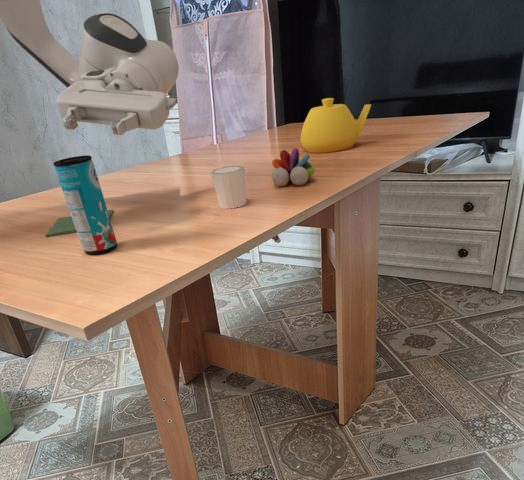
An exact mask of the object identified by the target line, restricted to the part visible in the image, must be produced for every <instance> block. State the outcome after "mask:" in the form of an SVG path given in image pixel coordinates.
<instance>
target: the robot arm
mask: <svg viewBox="0 0 524 480" xmlns="http://www.w3.org/2000/svg"><path fill="white" fill-rule="evenodd" d="M0 21H1V22H2V24H3V25H4V26H5V28H6V30H7V32H8V33H9V35H10V36H11V38H12V39H13V40H14V41H15V42H16V43H17V44H18V45H19V46H20V47H21V48H22V49H23V50H24V51H26V53H28V54H29V55H30V56H31V57H32V58H33V59H34V60H35V61H37V62H38V63H39V64H40V65H41V66H43V68H44V69H46V71H48V72H49V73H50V74H51V75H52V76H54V77H55V78H56V79H57V80H58V81H59V82H61V83H62V85H64V87H66V88H65V89H64V90H63V91H62V92H60V93H59V94H58V95H57V97H56V100H55V103H56V106H57V109H58V112H59V114H60V116H61V118H62V123H63V126H64V129H66V130H76V129H77V128H78V127H79V123H80V122H81V123H89V124H96V125H97V124H98V125H108V126H110V127H111V130H112V134H113V135H117V136H123V135H124V134H125V133H126V132H129V131H132V130H135V129H144V130H152V131H153V130H157V129H160V128H162V127H163V126H164V124H166V121H167V120H168V118H169V116H170V110H172V109H173V108H174V107H175V106H176V105H177V100H176V98H175V97H173V96H172V95H170V94H168V93H169V92H170V90H171V89H172V88H173V87H174V85H175V84H176V82H177V79H178V76H179V62H178V58H177V55H176V53H175V52H174V50H173V49H172V47H171V46H170V45H169V44H167V43H165V42H164V41H162V40H156V39H155V40H154V39H149V38H148V39H147V38H146V37H143V35H142V34H141V33H140V32H139V31H138V29H137V28H136V27H135V26H134V25H132V24H131V23H130V22H129V21H128V20H126V19H125V18H123V17H121V16H119V15H117V14H115V13H108V12H105V13H98V14H97V13H96V14H94V15H91V16H89V17H87V19H85V20H84V22H83V29H82V34H81V40H80V41H81V42H80V53H79V60H78V59H77V57H76V56H74V55H73V54H72V53H71V52H70V51H69V50H68V49H66V48H65V47H64V46H63V45H62V44H61V43H60V42H59V41H58V40H57V39H56V38H55V37H54V35H53V34H52V31H50V29H49V27H48V24H47V22H46V18H45V15H44V13H43V8H42V4H41V1H40V0H0ZM78 122H79V123H78Z"/></svg>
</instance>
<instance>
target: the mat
mask: <svg viewBox="0 0 524 480" xmlns="http://www.w3.org/2000/svg"><path fill="white" fill-rule="evenodd" d="M107 210H108V214H109V217H110V219H112V215H113V214H114V209H113V208H112V209H111V208H110V209H107ZM73 233H77V231H76V228H75V225H74V222H73V219H72V216H71V215H70V216H69V215H68V216H63V217H58V219H56V221H55V222H54V223H53V225H52V226H51V227H50V228H49V230H48V231H47V232H46V233H45V237H46V238H50V237H56V236H61V235H68V234H73Z"/></svg>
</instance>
